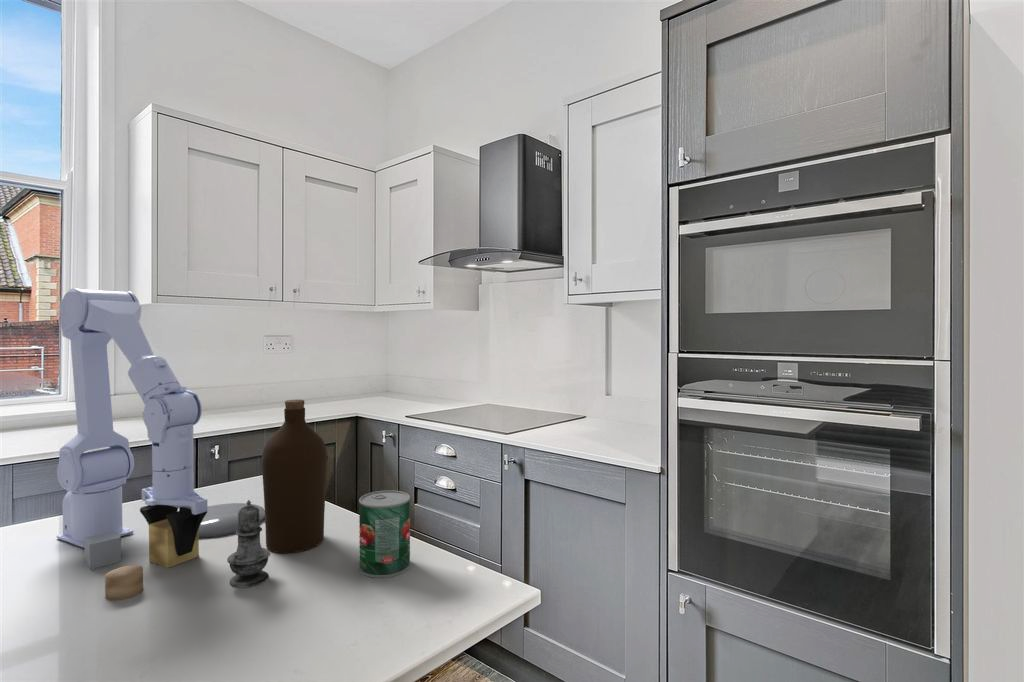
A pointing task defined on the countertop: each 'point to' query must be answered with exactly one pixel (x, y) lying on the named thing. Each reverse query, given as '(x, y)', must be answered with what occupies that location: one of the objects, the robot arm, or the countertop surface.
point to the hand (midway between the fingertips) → (174, 550)
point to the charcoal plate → (223, 519)
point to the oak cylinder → (123, 582)
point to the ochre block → (167, 545)
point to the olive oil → (294, 484)
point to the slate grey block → (102, 549)
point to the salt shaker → (248, 550)
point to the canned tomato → (384, 533)
